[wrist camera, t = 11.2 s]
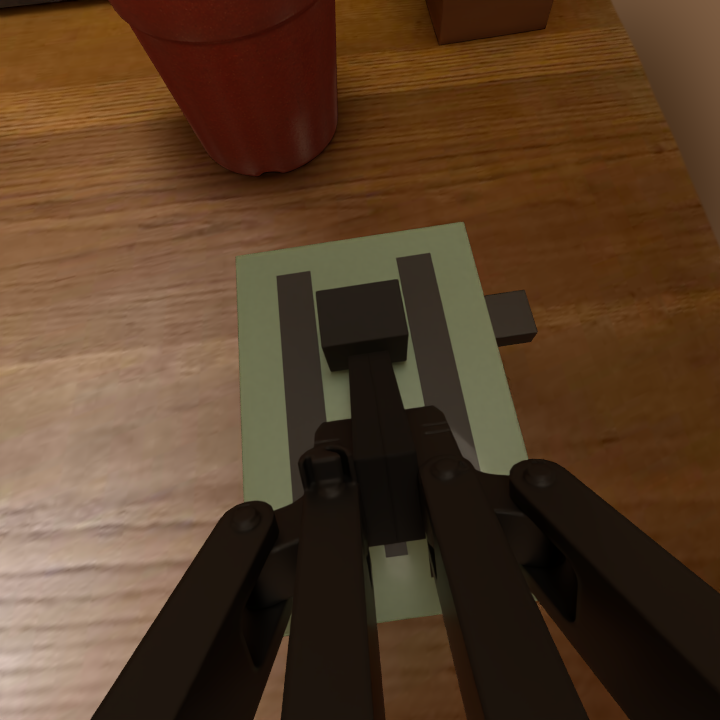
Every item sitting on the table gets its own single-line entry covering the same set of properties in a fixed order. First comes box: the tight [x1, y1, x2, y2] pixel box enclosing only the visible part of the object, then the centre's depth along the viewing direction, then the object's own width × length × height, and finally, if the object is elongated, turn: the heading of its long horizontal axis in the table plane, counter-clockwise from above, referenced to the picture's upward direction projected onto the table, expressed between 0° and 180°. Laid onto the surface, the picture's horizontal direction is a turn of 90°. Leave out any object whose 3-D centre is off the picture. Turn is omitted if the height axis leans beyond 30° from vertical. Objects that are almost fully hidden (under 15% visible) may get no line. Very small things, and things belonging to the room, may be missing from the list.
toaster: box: [236, 222, 538, 637], centre depth 24 cm, size 16×14×11 cm
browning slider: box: [316, 279, 409, 372], centre depth 18 cm, size 2×3×3 cm
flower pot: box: [109, 0, 338, 176], centre depth 33 cm, size 16×16×16 cm
